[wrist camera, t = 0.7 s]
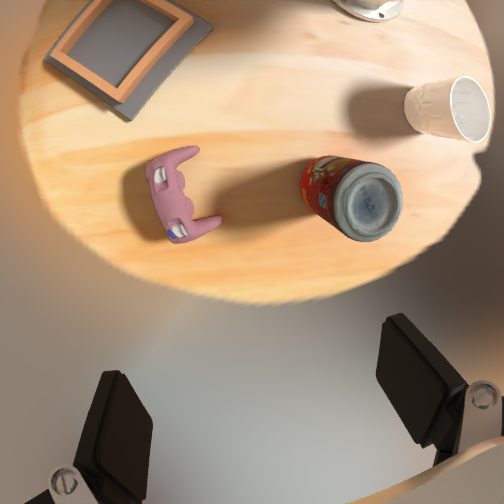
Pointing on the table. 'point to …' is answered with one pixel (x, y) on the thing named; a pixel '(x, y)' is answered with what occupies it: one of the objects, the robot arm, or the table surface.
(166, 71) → the cradle jig
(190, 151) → the video game controller
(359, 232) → the soda can
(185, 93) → the table surface
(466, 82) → the white cup
